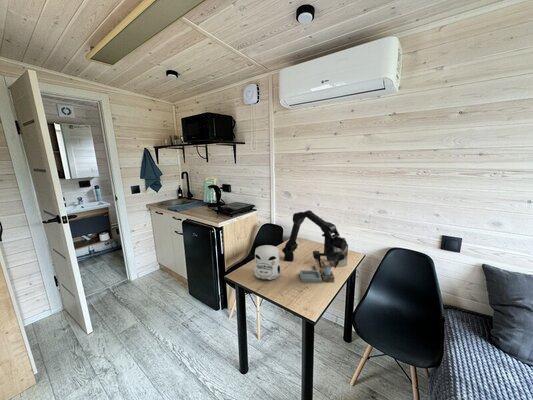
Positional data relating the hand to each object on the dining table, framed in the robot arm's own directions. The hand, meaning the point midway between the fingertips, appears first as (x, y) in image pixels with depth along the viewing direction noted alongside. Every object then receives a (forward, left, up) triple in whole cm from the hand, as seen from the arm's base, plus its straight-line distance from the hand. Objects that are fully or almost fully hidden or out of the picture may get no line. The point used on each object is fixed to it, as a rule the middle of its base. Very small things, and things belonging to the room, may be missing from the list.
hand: (327, 267), depth 137 cm
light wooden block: (+2, +11, -8) cm, 14 cm away
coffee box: (+13, +19, -8) cm, 25 cm away
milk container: (-38, +2, -8) cm, 39 cm away
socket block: (0, 0, -8) cm, 8 cm away
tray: (-10, 0, -8) cm, 13 cm away
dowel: (0, 0, -8) cm, 8 cm away
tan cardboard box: (-3, +11, -8) cm, 14 cm away
